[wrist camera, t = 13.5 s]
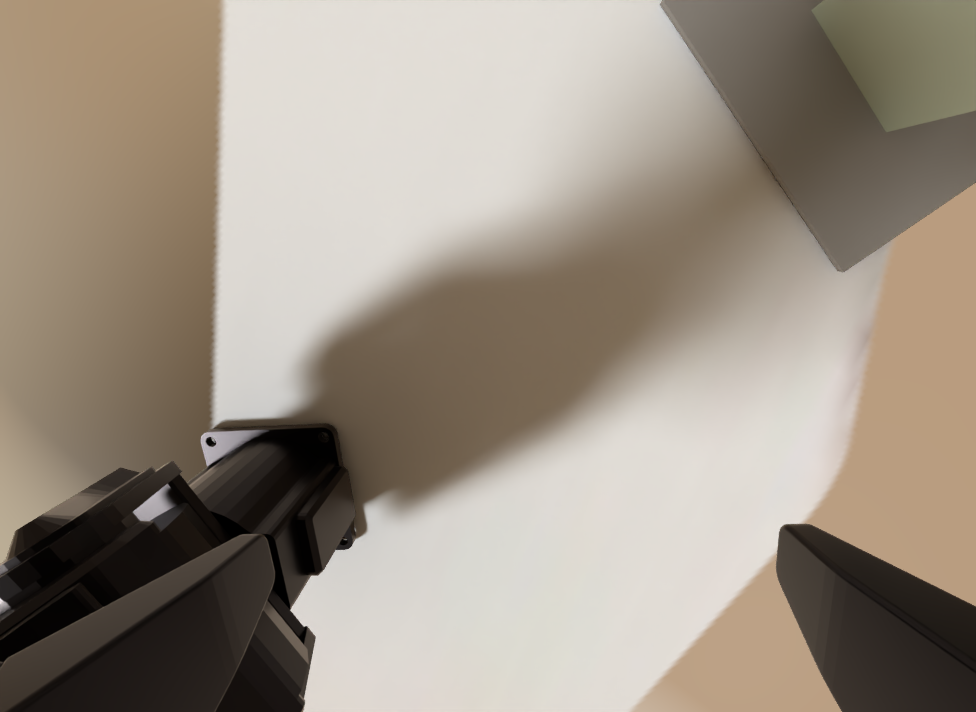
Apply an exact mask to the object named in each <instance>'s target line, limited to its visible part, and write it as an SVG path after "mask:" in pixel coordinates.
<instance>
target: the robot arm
mask: <svg viewBox="0 0 976 712" xmlns="http://www.w3.org/2000/svg"><path fill="white" fill-rule="evenodd" d="M322 432H324V433H326V434H328V436H329V439H327V438H324V437H323V436H322ZM211 437H212V438H214V439H215V441H216V443H214V442H213V441H212V439H211ZM201 445H202V448H203V452H204V456H205V460H206V464H207V467H206V468H205V469H204V470H202V471H201V472H200V473H198V474H197V475H196V476H195V477H193V478H192V479H191V480H189V481H188V482H187V483H186V481H185V480H184V479H183V478H182V476H180V473H181V472H182V471H181V470H180V469H179V468H178V466H177V465H176V464H175V462H174V461H173V460H172V461H170V462H168V463H167V464H165V465H164V466H162V467H160V468H158V469H157V470H155V469H154V468H153V467H150V468H148V469H147V470H145V471H142V472H141V473H139V472H135V471H131V470H127V469H124V468H119V469H118V470H116V471H114V472H113V473H111V474H109V475H108V476H106V477H104V478H103V479H101V480H99V481H98V482H97V483H95V484H93V485H91V486H90V487H88V488H86V489H85V490H83V491H81V492H80V493H78V494H77V495H75V496H73V497H71V498H70V499H68V500H66V501H65V502H63V503H61V504H59V505H58V506H56V507H54V508H53V509H51V510H49V511H48V512H46V513H44V514H42V515H41V516H39V517H37V518H36V519H34V520H33V521H31V522H29V523H28V524H26V525H24V526H23V527H21V528H20V529H18V530H16V531H15V533H14V536H13V539H12V542H11V545H10V548H9V552H8V554H7V557H6V560H5V561H4V562H2V563H1V564H0V712H303V710H304V705H305V700H304V695H305V690H306V685H307V680H308V674H309V669H310V664H311V659H312V654H313V648H314V643H315V635H314V634H313V633H312V632H311V630H310V629H309V628H308V627H307V626H305V627H303V626H302V624H301V623H300V622H299V621H298V619H297V618H296V617H295V616H294V614H293V613H292V612H291V611H290V609H291V608H292V606H293V604H294V603H295V601H296V599H297V598H298V596H299V595H300V593H301V591H302V590H303V588H304V586H305V585H306V583H307V581H308V580H309V578H310V577H311V576H318V575H319V574H320V573H321V572H322V571H323V570H324V569H325V567H326V565H327V563H328V562H329V560H330V558H331V557H332V555H333V553H334V552H335V550H345V549H349V548H350V547H351V546H352V544H353V542H354V541H355V537H356V535H355V529H354V524H353V519H354V517H355V515H356V513H355V507H354V502H353V496H352V490H351V484H350V479H349V473H348V470H347V469H346V468H345V467H344V466H343V462H342V456H341V451H340V445H339V439H338V434H337V431H336V429H335V428H334V427H333V426H332V425H330V424H307V425H285V426H262V427H239V428H216V429H210V430H209V431H207V432H206V433H204V434H203V435H202V437H201ZM343 537H346V538H347V540H344V539H342V538H343ZM776 572H777V577H778V580H779V583H780V585H781V587H782V590H783V592H784V594H785V596H786V598H787V600H788V603H789V605H790V607H791V609H792V612H793V614H794V616H795V618H796V620H797V623H798V625H799V627H800V629H801V631H802V634H803V636H804V638H805V640H806V643H807V645H808V647H809V649H810V652H811V654H812V656H813V658H814V660H815V662H816V665H817V666H818V669H819V671H820V673H821V675H822V677H823V679H824V680H825V682H826V684H827V686H828V688H829V690H830V691H831V693H832V695H833V697H834V698H835V700H836V702H837V704H838V706H839V707H840V709H841V711H842V712H976V606H974V605H972V604H970V603H967V602H966V601H964V600H961V599H960V598H958V597H956V596H953V595H952V594H950V593H948V592H946V591H944V590H942V589H939V588H938V587H936V586H934V585H931V584H929V583H927V582H925V581H923V580H921V579H919V578H917V577H915V576H913V575H911V574H909V573H907V572H905V571H903V570H901V569H899V568H897V567H895V566H893V565H891V564H889V563H887V562H885V561H883V560H881V559H879V558H877V557H875V556H873V555H871V554H869V553H867V552H865V551H863V550H861V549H859V548H857V547H855V546H853V545H851V544H849V543H847V542H844V541H843V540H841V539H839V538H837V537H835V536H833V535H831V534H829V533H827V532H825V531H823V530H821V529H819V528H817V527H815V526H813V525H810V524H785V525H783V526H782V527H781V529H780V531H779V539H778V550H777V561H776Z"/></svg>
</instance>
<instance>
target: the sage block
mask: <svg viewBox="0 0 976 712" xmlns="http://www.w3.org/2000/svg"><path fill="white" fill-rule="evenodd" d="M811 11H812V12H813V14H814V16H815V17H816V19H817V20H818V22H819V24H820V25H821V27H822V29H823V30H824V32H825V33H826V35H827V37H828V38H829V40H830V42H831V43H832V45H833V47H834V48H835V50H836V51H837V53H838V55H839V56H840V58H841V60H842V61H843V63H844V64H845V66H846V68H847V69H848V71H849V73H850V74H851V76H852V77H853V79H854V81H855V82H856V84H857V86H858V87H859V89H860V91H861V92H862V94H863V95H864V97H865V99H866V100H867V102H868V104H869V105H870V107H871V108H872V110H873V112H874V113H875V115H876V117H877V118H878V120H879V121H880V123H881V125H882V126H883V128H884V130H885V131H886V132H889V131H894V130H898V129H902V128H906V127H910V126H914V125H918V124H923V123H927V122H931V121H935V120H939V119H943V118H947V117H952V116H956V115H960V114H964V113H968V112H972V111H976V0H823V1H822V2H821V3H820V4H818V5H817V6H816V7H815V8H813V9H812V10H811Z"/></svg>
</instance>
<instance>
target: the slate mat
mask: <svg viewBox="0 0 976 712" xmlns="http://www.w3.org/2000/svg"><path fill="white" fill-rule="evenodd" d="M822 1H823V0H662V2H661V3H660V5H661V7H662V8H663V10H664V11H665V13H666V14H667V16H668V17H669V19H670V20H671V22H672V23H673V25H674V26H675V28H676V29H677V31H678V32H679V34H680V35H681V37H682V38H683V40H684V41H685V43H686V44H687V46H688V47H689V49H690V50H691V52H692V53H693V55H694V56H695V58H696V59H697V61H698V62H699V64H700V65H701V67H702V68H703V70H704V71H705V73H706V74H707V76H708V77H709V79H710V80H711V82H712V83H713V85H714V86H715V88H716V89H717V91H718V92H719V94H720V95H721V97H722V98H723V100H724V101H725V103H726V104H727V106H728V107H729V109H730V110H731V112H732V113H733V115H734V116H735V118H736V119H737V121H738V122H739V124H740V125H741V127H742V128H743V130H744V131H745V133H746V134H747V136H748V137H749V139H750V140H751V142H752V143H753V145H754V146H755V148H756V149H757V151H758V152H759V154H760V155H761V157H762V158H763V160H764V161H765V163H766V164H767V166H768V167H769V169H770V170H771V172H772V173H773V175H774V176H775V178H776V179H777V181H778V182H779V184H780V185H781V187H782V188H783V190H784V191H785V193H786V194H787V196H788V197H789V199H790V200H791V202H792V203H793V205H794V206H795V208H796V209H797V211H798V212H799V214H800V215H801V217H802V218H803V220H804V221H805V223H806V224H807V226H808V227H809V229H810V230H811V232H812V233H813V235H814V236H815V238H816V239H817V241H818V242H819V244H820V245H821V247H822V248H823V250H824V251H825V253H826V254H827V256H828V257H829V259H830V260H831V262H832V263H833V265H834V266H835V268H836V269H837V271H841V272H845V271H846V270H848V269H849V268H851V267H852V266H854V265H855V264H857V263H858V262H859V261H861V260H862V259H864V258H865V257H867V256H868V255H870V254H871V253H873V252H874V251H876V250H877V249H879V248H880V247H882V246H883V245H885V244H886V243H887V242H889V241H890V240H892V239H893V238H895V237H896V236H898V235H899V234H901V233H902V232H904V231H905V230H906V229H908V228H910V227H911V226H912V225H914V224H915V223H917V222H918V221H920V220H921V219H923V218H924V217H926V216H927V215H929V214H930V213H932V212H933V211H934V210H936V209H937V208H939V207H940V206H942V205H943V204H945V203H946V202H948V201H949V200H951V199H952V198H954V197H955V196H956V195H958V194H959V193H961V192H963V191H964V190H965V189H967V188H968V187H970V186H971V185H973V184H974V183H976V111H972V112H968V113H964V114H960V115H956V116H952V117H947V118H943V119H939V120H935V121H931V122H927V123H923V124H918V125H914V126H910V127H906V128H902V129H898V130H894V131H889V132H886V131H885V130H884V128H883V126H882V125H881V123H880V121H879V120H878V118H877V117H876V115H875V113H874V112H873V110H872V108H871V107H870V105H869V104H868V102H867V100H866V99H865V97H864V95H863V94H862V92H861V91H860V89H859V87H858V86H857V84H856V82H855V81H854V79H853V77H852V76H851V74H850V73H849V71H848V69H847V68H846V66H845V64H844V63H843V61H842V60H841V58H840V56H839V55H838V53H837V51H836V50H835V48H834V47H833V45H832V43H831V42H830V40H829V38H828V37H827V35H826V33H825V32H824V30H823V29H822V27H821V25H820V24H819V22H818V20H817V19H816V17H815V16H814V14H813V12H812V11H811V10H812V9H813V8H815V7H816V6H817V5H818V4H820V3H821V2H822Z"/></svg>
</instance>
